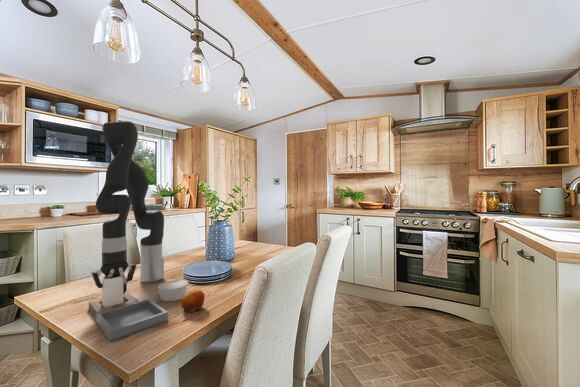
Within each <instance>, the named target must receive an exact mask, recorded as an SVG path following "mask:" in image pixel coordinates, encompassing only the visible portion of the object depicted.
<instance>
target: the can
mask: <svg viewBox="0 0 580 387" xmlns="http://www.w3.org/2000/svg"><path fill="white" fill-rule="evenodd" d="M121 276H122V275H121ZM121 276H116V277H112V278H107V277H105V275H104V276H103V278H102V280H101V283H102V288H101V299H102V306H103V307H104V308H106V307H110V306H113V305H117V304H121V303H123V278H122V277H121Z"/></svg>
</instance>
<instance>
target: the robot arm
mask: <svg viewBox="0 0 580 387" xmlns="http://www.w3.org/2000/svg"><path fill="white" fill-rule="evenodd" d="M102 133H103V137H104V139H105V142H106V144H107V146H108V148H109V149H110V152H111V154H112V156H113V158H112V160H110V162H109V163H108V166H107V168H106V173H105V181H104V184H103V187H102V189H101V191H100V193H99V194H98V196H97V198H96V201H95V209H96V211H97V212H98V213H99V214H101V215H114V214H115V215H118V216H117V218H114V219H110V220H106V221H104V222H103V223H102V241H101V267H100V269H97V270H92V271H91V276H92V279H93V281H94V284H95V286H96V287H97V288H98V289H102V281H101V280H100V276H101V273H102V274H103V275H104V276H105V277H107V278H112V277H116V276H121V275H122V276H121V277H122V278H123V294H125V292H128V291H127V286H128V283H129V282H132V281H133V278H134V275H135V273H136V272H135V271H136V268H137V265H136V264H134V263H128V261H127V260H128V256H127V255H128V243H127V231H126V230H127V220H128V216H129V212H130V210H131V208H132V211H133V217H134V221H135V223H136V226H137V227H138V229H140V230H143V231H144V230H145V231H147V230H148V231H150V232H149V234H148V235H147V236H145V237H142V238H140V241H139V242H140V249H139V250H140V251H139V252H140V255H139V256H140V262H139V263H140V265H139V266H140V271H139V272H140V282H141V283H154V282H158V281H160V280H162V279H164V278H165V277H164V276H165V266H164V265H165V259H164V258H163V239H164V230H165V229H164V228H165V216H164V213H163V212H162V211H160V210H148V208H147V205H146V202H145V201H146V200H145V199H146V196H147V193H148V191H149V185H150V183H149V181H148V178H147V174H146V171H145V170H144V168H142V166H141V165H139V164H138V163H137V161H135V160H133V156H134V153H135V150H136V147H137V144H138V137H139V136H138V134H139V133H138V129H137V127H136V125H135V123H134V122H132V121H131V120H121V121H120V120H118V121H108V122H104V123H103V125H102ZM123 191H126V192H127V194H115V193H119V192H123ZM126 270H128V272H127V275H125V272H126Z"/></svg>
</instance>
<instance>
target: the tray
mask: <svg viewBox="0 0 580 387" xmlns="http://www.w3.org/2000/svg"><path fill="white" fill-rule="evenodd" d="M138 301H139V302H135V303H132V304H128V305H125V306H121V307H118V308H114V309H111V310H108V311H104V312H101V313H97V314H96V317H95V324H96V325H97V326H98V328H99V329H100V331H101V332H102V333H103V335H104V336H105V337H106V339H107V340H108V342H109V343H113V342H115V341H118V340H121V339H123V338H126V337H129V336H132V335H134V334H137V333H140V332H143V331H145V330H147V329H151V328H153V327H156V326H159V325H161V324H164V323H166V322H168V321H169V319H168V318H169V317H168V316H169V312H168V311H167V310H166V309H164V308H163V307H161V306H160V305H159V304H157V303H156V302H155V301H153V300H152V299H150V298H146V299H143V300H138Z"/></svg>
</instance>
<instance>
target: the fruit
mask: <svg viewBox="0 0 580 387" xmlns="http://www.w3.org/2000/svg"><path fill="white" fill-rule="evenodd" d="M205 296H206V295H205V292H204V291H203V290H201V289H191V290H190V291H189V292H188V291H187V292H186V294H185V295H184V296H183V297H182V299H180V304H181V308H182V309H183V311H185V312H188V313H190V312H191V313H195V312H196V310H199V309H203V310H204V308H203V306H204V304H205V303H204V302H205V299H206V298H205Z"/></svg>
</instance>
